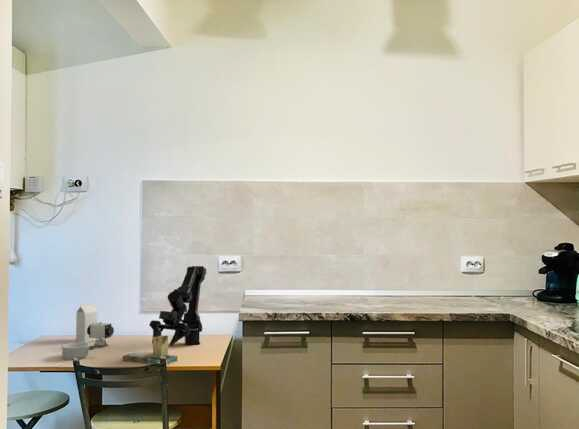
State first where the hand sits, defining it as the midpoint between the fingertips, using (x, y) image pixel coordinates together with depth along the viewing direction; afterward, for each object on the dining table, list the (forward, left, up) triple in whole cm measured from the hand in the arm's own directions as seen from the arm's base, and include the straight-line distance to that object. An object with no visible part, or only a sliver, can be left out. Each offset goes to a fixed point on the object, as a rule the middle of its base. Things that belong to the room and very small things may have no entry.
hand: (161, 344), depth 210 cm
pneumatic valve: (+23, -38, -8) cm, 45 cm away
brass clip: (+1, +1, -7) cm, 7 cm away
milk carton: (+29, -53, -8) cm, 61 cm away
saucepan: (+30, -21, -8) cm, 37 cm away
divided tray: (+4, -3, -7) cm, 9 cm away
